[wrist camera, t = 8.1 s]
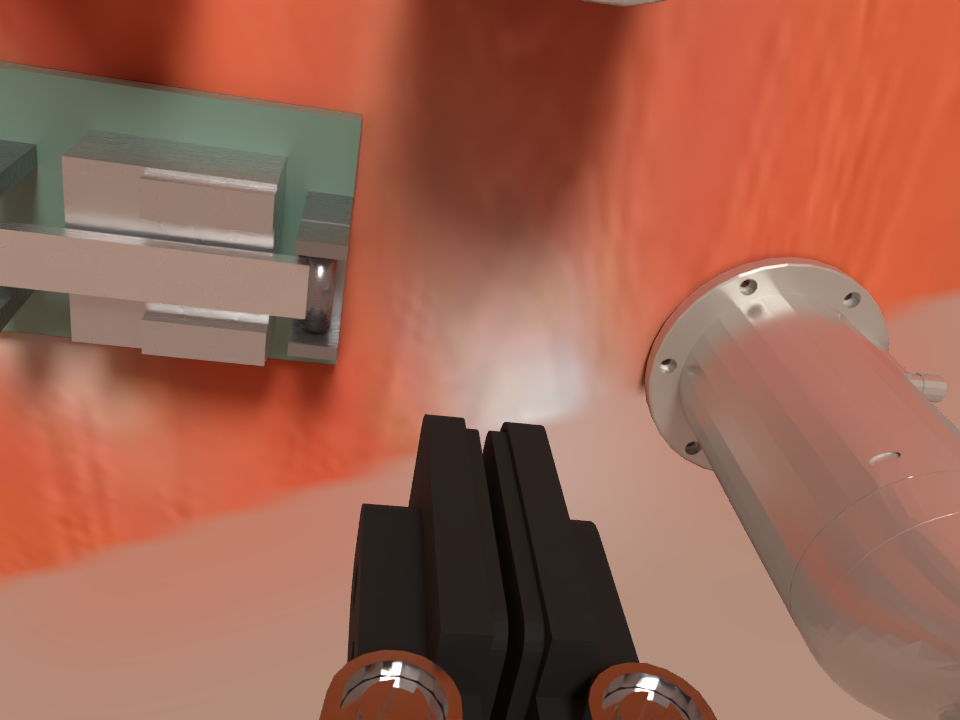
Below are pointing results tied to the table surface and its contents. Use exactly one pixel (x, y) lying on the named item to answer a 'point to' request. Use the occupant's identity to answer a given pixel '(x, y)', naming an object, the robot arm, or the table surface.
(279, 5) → the table surface
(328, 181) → the board
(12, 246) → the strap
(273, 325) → the grey block frame
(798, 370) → the robot arm
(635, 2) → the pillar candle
